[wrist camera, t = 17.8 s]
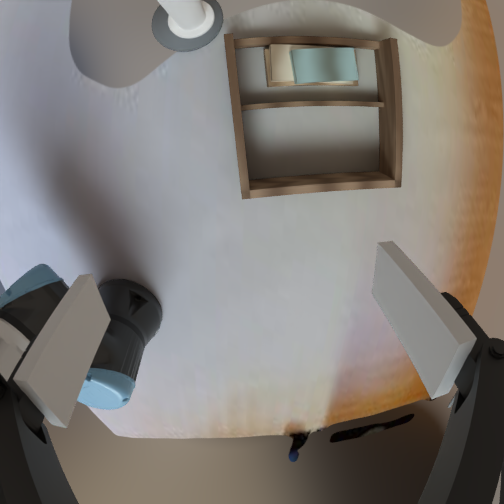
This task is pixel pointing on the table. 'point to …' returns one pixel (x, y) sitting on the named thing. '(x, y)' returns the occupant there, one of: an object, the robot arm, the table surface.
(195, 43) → the pad
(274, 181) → the rack
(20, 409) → the robot arm
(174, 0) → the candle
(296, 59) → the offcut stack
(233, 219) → the table surface
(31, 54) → the table surface
